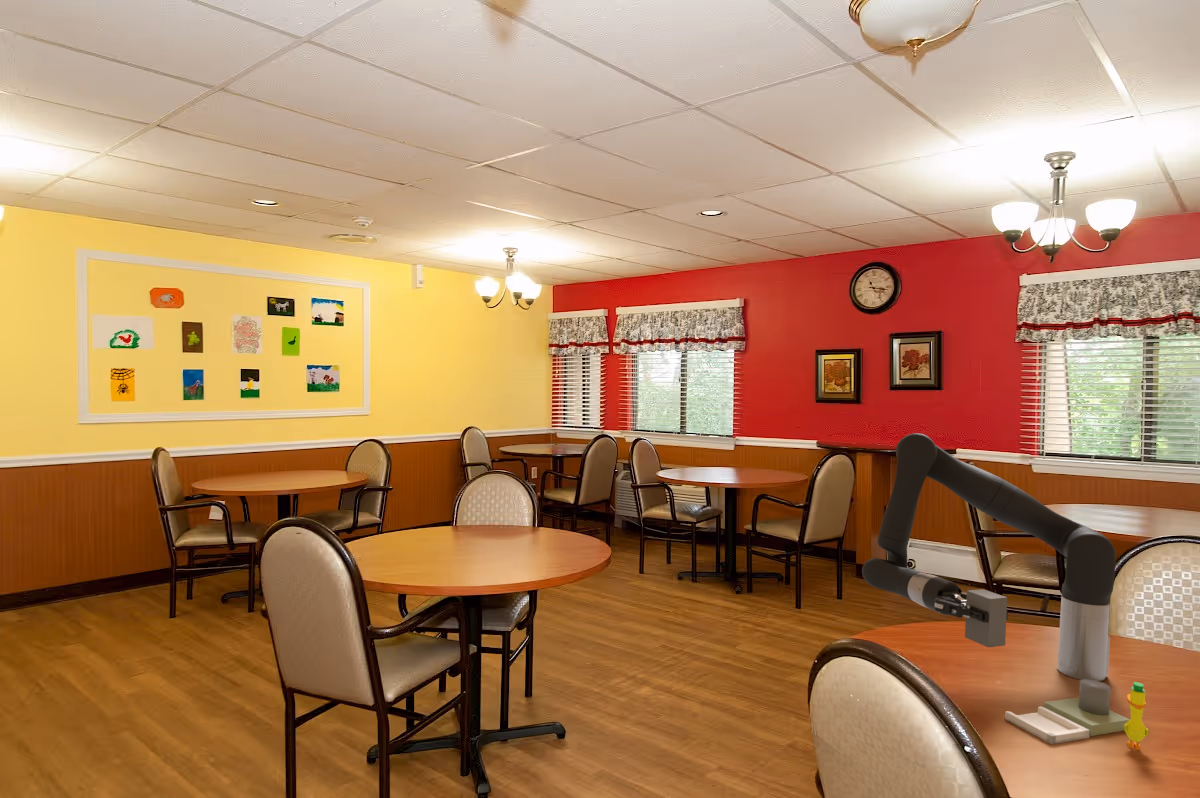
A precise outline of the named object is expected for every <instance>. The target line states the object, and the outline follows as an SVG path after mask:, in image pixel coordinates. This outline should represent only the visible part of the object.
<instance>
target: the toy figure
mask: <svg viewBox="0 0 1200 798" xmlns="http://www.w3.org/2000/svg"><path fill="white" fill-rule="evenodd" d="M1144 687H1145V686H1144V684H1143V683H1141V682H1138V681H1133V683H1132V686H1130V693H1128V694H1127V695H1126V697H1127V702H1128V704H1129V709H1130V718H1129V719H1130V720H1129V721H1127V722H1126V724H1124V732H1125V734H1126V736H1127V738H1129V739H1128V740H1127V742H1126V745H1127V747H1128V748H1130V749H1132V750H1134V749H1135V750H1137V751H1140V750H1141V749H1140V748H1141V744H1140V742H1141V741H1143V739H1145V737H1148V736H1149V732H1150V731H1149V728H1147V727H1146V726H1145V724H1144V722H1143V721H1142V719H1143V714H1144V710H1145V707H1146V706H1147V703H1146V689H1144Z"/></svg>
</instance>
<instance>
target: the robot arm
mask: <svg viewBox="0 0 1200 798" xmlns="http://www.w3.org/2000/svg"><path fill="white" fill-rule="evenodd" d="M895 454H896V455H895V456H896V458H897V460H896V473H895V478H894V483H893V488H892V491H891V495H890V497H889V500H888V503H887V506H886V508H885V511H884V514H883V516H882V517H883V518H882V521H881V524H880V528H879V533H878V537H877V546H878V547H879V548H881V549H882V550H885V551H886V557H887V558H886V559H883V558H879V557H873V558H870V559H868V560H866V561H865V562H864V564H863V565H862V569H861V574H862V578H863V579H864V581H865V582H866V583H867V584H868V585H869V586H871V587H873V588H875V589H878V590H879V589H880V590H882V591H886V592H890V593H894V594H896V595H899V596H900V597H903V598H904V599H908V600H910V601H913V602H914V603H916V604H918V605H920V606H922V607H924V608H927V609H929V610H932V612H933V611H934V612H936V613H939V614H941V615H944V616H949V615H950V616H953V617H957V618H959V619H960V618H963V617H964V618H966V617H967V618H974V619H976V620H979V621H981V622H984V623H986V622H988V618H989V614H988V612H986V611H984V610H981V609H978V608H976V607H972V606H971V605H969V604H966V596H967V592H963V591H962V589H961V588H960V586H959V585H958V584H957V583H956V582H954V581H951V580H948V579H945V578H943V577H941V576H940V577H939V576H937V575H934V574H931V573H926V572H925V573H924V572H923V571H919V570H916V569H913V568H910V567H908V545H909V542H910V537H911V533H912V530H913V526H914V522H915V516H916V512H917V507H918V504H919V503H918V502H919V499H920V496H921V491H922V488H923V486H924V484H925V481H926V478H930V479H931V480H934V481H935V482H937V483H939V484H941V485H943V486H944V487H946V488H947V489H949V491H951V492H953V493H954V494H955V495H957V496H958V497H960V499H962V500H963V501H965V502H967V503H968V504H969V505H971V506H972V507H974V508H976V509H977V510H979V511H980V512H982V513H984V514H986V515H987V516H988V517H991V518H993V519H995V520H996V521H998V522H1000V523H1002V524H1005V525H1006V526H1008V527H1011V528H1014V529H1016V530H1018V531H1021V532H1023V533H1026V534H1029V535H1032V536H1033V537H1036V538H1038V539H1039V540H1041V541H1042V542H1044V543H1045V544H1047V545H1048V546H1049V547H1051V548H1053V549H1054V550H1056V551H1057V552H1058V553H1060V554H1061V555H1063V556H1064V557H1065V558H1066V566H1065V567H1066V568H1065V578H1064V581H1063V583H1062V585H1061V600H1060V616H1059V633H1058V634H1059V635H1058V647H1057V648H1058V649H1057V650H1058V651H1057V664H1056V665H1057V666H1056V667H1057V670H1058V671H1059V672H1060V673H1062V674H1064V675H1066V676H1068V677H1071V678H1074V679H1079V680H1083V679H1089V680H1095V681H1099V682H1102V681H1104V680H1105V679H1106V677H1109V676H1108V675H1109V663H1110V662H1109V661H1110V646H1111V645H1110V643H1111V635H1109V626H1110V625H1109V621H1110V607H1111V606H1110V605H1111V604H1110V603H1111V596H1112V595H1113V592H1114V585H1115V577H1116V576H1115V575H1116V574H1115V573H1116V563H1117V562H1116V560H1117V559H1116V558H1117V556H1116V549H1115V546H1114V544H1113V543H1112V541H1110V540H1109V538H1107V536H1105V535H1104V534H1102V533H1101V532H1100V531H1097V530H1096V529H1093V528H1091V527H1088V526H1086V525H1083V524H1080V523H1078V522H1077V521H1073V520H1072V519H1069V518H1068V517H1065V516H1064V515H1061V514H1059V513H1057V512H1055V511H1054V510H1052V509H1051V508H1049V507H1047V506H1046V505H1045V504H1044V503H1042V502H1040V501H1039V500H1038V499H1037V498H1035V497H1033V496H1032V495H1031V494H1029V493H1027V492H1026V491H1024V490H1023V489H1021V488H1020V487H1018V486H1016V485H1014V484H1013V483H1011V482H1009V481H1007V480H1005V479H1003V478H1001V477H999V476H997V475H996V474H993V473H991V472H989V471H987V470H984V469H982V468H979V467H977V466H974V465H972V464H969V463H967V462H965V461H962V460H960V459H958V458H956V457H955V456H953V455H952V454H950V453H948V452H947V451H946V450H944V449H942V448H941V447H940V446H938V445H937V444H935V442H934V440H933V439H931V438H930V437H929V436H928V435H926V434H923V433H917V432H916V433H909V434H907V435H904V436H903V437H902V438H901V439H899V441H898V442H897V444H896V448H895ZM1008 615H1009V611H1008V610H1007V613H1006V621H1008V619H1009V618H1008V617H1009V616H1008Z"/></svg>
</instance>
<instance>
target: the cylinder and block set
mask: <svg viewBox="0 0 1200 798" xmlns="http://www.w3.org/2000/svg"><path fill="white" fill-rule="evenodd" d="M1111 690H1112V688H1111V686H1110V685H1108V683H1105V682H1102V681H1095V680H1089V679H1083V680H1082V679H1079V692H1078V693H1079V694H1078V696H1077V697H1073V698H1064V699H1057V700H1050V701H1044V704H1043V706H1037V712H1030V713H1024V714H1016V713H1014V712H1012V711H1010V710H1006V711H1005V713H1004V720H1006V721H1007V722H1009V721H1010V722H1009V723H1012V724H1013V725H1014V726H1015V725H1016V727H1019V728H1021V729H1023V730H1024V731H1026V732H1028V733H1030V734H1031V735H1034V736H1036V737H1038V738H1039V739H1041V740H1043V741H1044V742H1046V743H1048V744H1049V745H1054V744H1055V745H1056V744H1061V743H1068V742H1074V741H1079V740H1085V739H1086V740H1087V739H1090V736H1091V737H1093V736H1100V735H1105V734H1111V733H1116V732H1122V731H1124V724H1126V722H1127V721H1129V720H1130V719H1131V718H1129V717H1126V716H1124V715H1121V714H1119V713H1116V712H1114V711H1112V710H1111V709H1110V707H1111V703H1110V702H1111ZM1124 732H1125V731H1124Z"/></svg>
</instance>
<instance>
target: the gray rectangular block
mask: <svg viewBox="0 0 1200 798" xmlns="http://www.w3.org/2000/svg"><path fill="white" fill-rule="evenodd" d="M966 593H967V596H966V604H969V605H971V606H972V607H976V608H978V609H981V610H984V611H986V612H988V614H989V618H988V622H986V623H984V622H981V621H979V620H976V619H974V618H967V617H965V622H964V638H966V639H968V640H970V641H973V642H975V643H977V644H979V645H982V646H983V647H986V648H994V647H1003V646H1006V634H1007V633H1006V630H1007V620H1006V613H1007V611H1008V609H1007V607H1008V597H1007V596H1004V595H1001V594H998V593H995V592H992V591H990V590H986V589H984V588H982V589H970V590H969V589H968V590H966Z"/></svg>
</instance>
